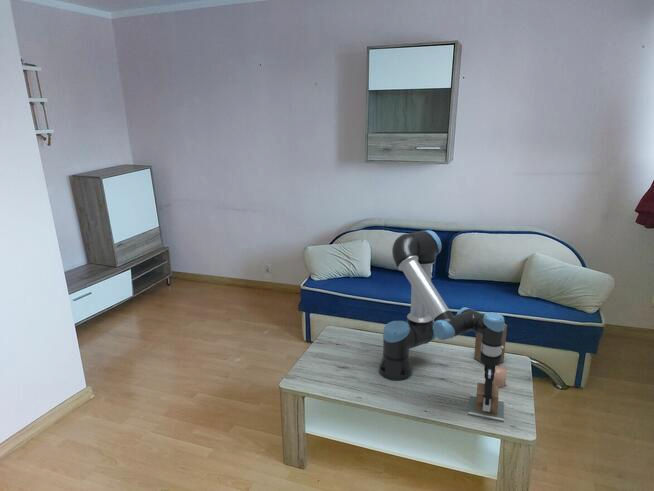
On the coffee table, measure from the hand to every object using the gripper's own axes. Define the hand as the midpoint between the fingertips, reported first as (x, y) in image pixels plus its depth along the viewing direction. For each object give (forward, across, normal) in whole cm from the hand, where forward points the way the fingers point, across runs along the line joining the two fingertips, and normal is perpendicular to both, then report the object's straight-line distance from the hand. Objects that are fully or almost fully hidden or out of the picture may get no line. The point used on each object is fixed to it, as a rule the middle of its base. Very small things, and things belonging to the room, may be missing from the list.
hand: (486, 402), depth 173 cm
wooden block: (+3, +39, 0) cm, 39 cm away
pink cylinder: (+3, +20, -4) cm, 21 cm away
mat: (+3, 0, 0) cm, 3 cm away
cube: (+2, 0, 0) cm, 2 cm away
